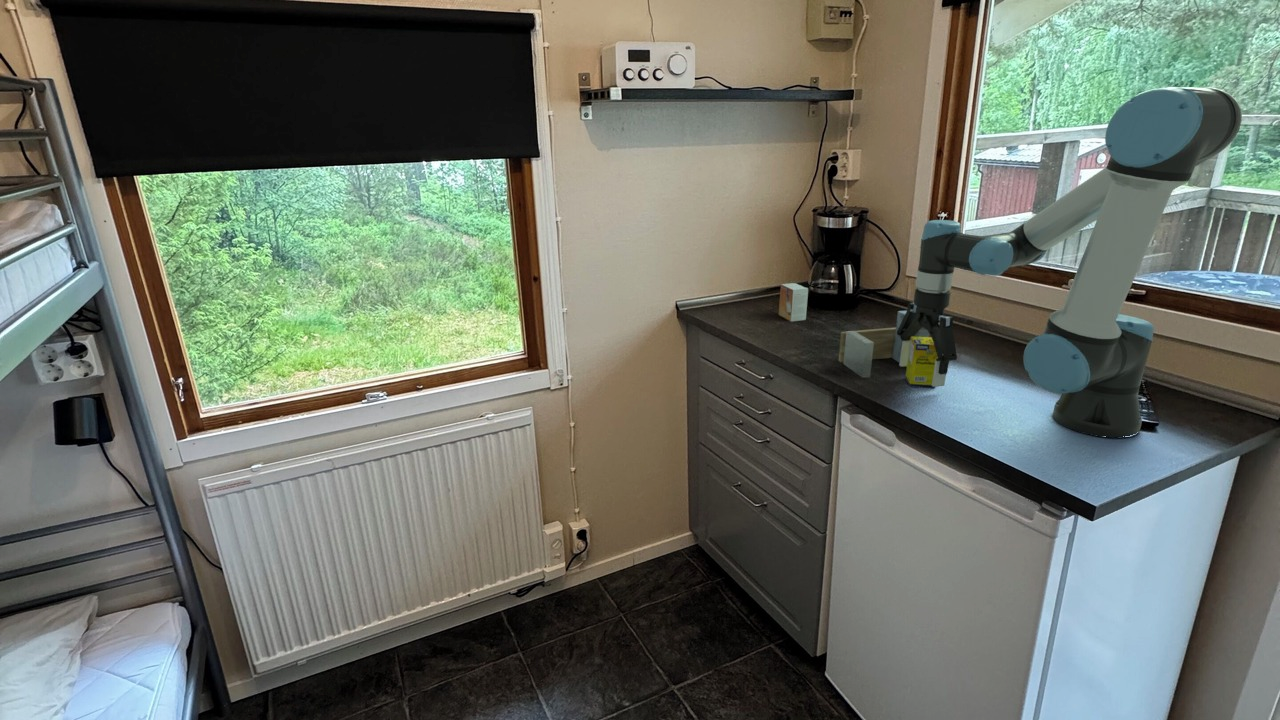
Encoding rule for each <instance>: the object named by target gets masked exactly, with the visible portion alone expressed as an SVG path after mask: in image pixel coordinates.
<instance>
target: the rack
mask: <svg viewBox="0 0 1280 720" xmlns="http://www.w3.org/2000/svg"><path fill="white" fill-rule="evenodd" d="M906 312H907V310H899V311H897V318H896V324H895V327H885V328H884V327H883V328H873V329H872V328H871V329H862V330H860V329H859V330H854V331H855V332H857V333H858V334H860V335H862V336H863V337H865V338H867V339H869V340H870V341H872V342H874V346H873V355H872V360H879V359H880V360H881V359H890V358H892V359H893V360H895V361H896V362H898V363H900V355H901V344H902V340H901V336H900V335H897V331H898V328H899V326H900V324H901V322H902V320H903V318H904V316H905V314H906ZM903 330H905V329H903ZM930 336H931V334H929V332H928V330H927V329H925V328H924V327H922V328H921V329H920V330H919V331H918V332H917V333H916V334H915V336H914V337H930ZM845 341H846V331H841V332H840V341H839V351H838V362H840V363H844V352H845ZM905 367H906V368H907V366H905Z"/></svg>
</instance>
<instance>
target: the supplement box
mask: <svg viewBox="0 0 1280 720" xmlns="http://www.w3.org/2000/svg"><path fill="white" fill-rule="evenodd" d="M937 358H938V356H937V352H936V349H935V346H934V342H933V339H932V336H929V337H914V336H912V337H911V338H910V346H909V354H908V362H907V367H906V369H905V370H906V371H905V381H906V382H907V384H908V386H909V387H911V388H926V389H928V388H929V389H935V388H936V387H933V386H932V380H933V373H934V367H935V360H936V359H937Z"/></svg>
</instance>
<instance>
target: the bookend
mask: <svg viewBox="0 0 1280 720" xmlns="http://www.w3.org/2000/svg"><path fill="white" fill-rule="evenodd" d="M855 331H856V330H848V331H847V330H846V331H845V332H846V341H845V352H844V362H842V363H843V365H844V366H845V367H847V368H848V369H850V370H851V371H853V372H854V373H855V374H857V375H858V376H859V377H861V378H862V379H863V378H864V379H865V378H871V372H872V371H871V370H872V363H873V359H872V355H873V346H874V342H872V341H870V340H869V339H867V338H865V337H863V336H862V335H860V334H858V333H857V332H855Z"/></svg>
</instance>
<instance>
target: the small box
mask: <svg viewBox="0 0 1280 720" xmlns="http://www.w3.org/2000/svg"><path fill="white" fill-rule="evenodd" d="M779 292H780V294H779V303H778V304H779V305H778V306H779V307H778V315H779V316H780V317H782V318H784V319H785V320H787V321H789V322H791V323H792V322H799V321H806V319H807V310H808V309H807V307H808V297H809V288H808V287H805V286H803V285H801V284H798V283H797V282H796V283H795V282H793V283H790V282H789V283H781V284H780V291H779Z"/></svg>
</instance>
